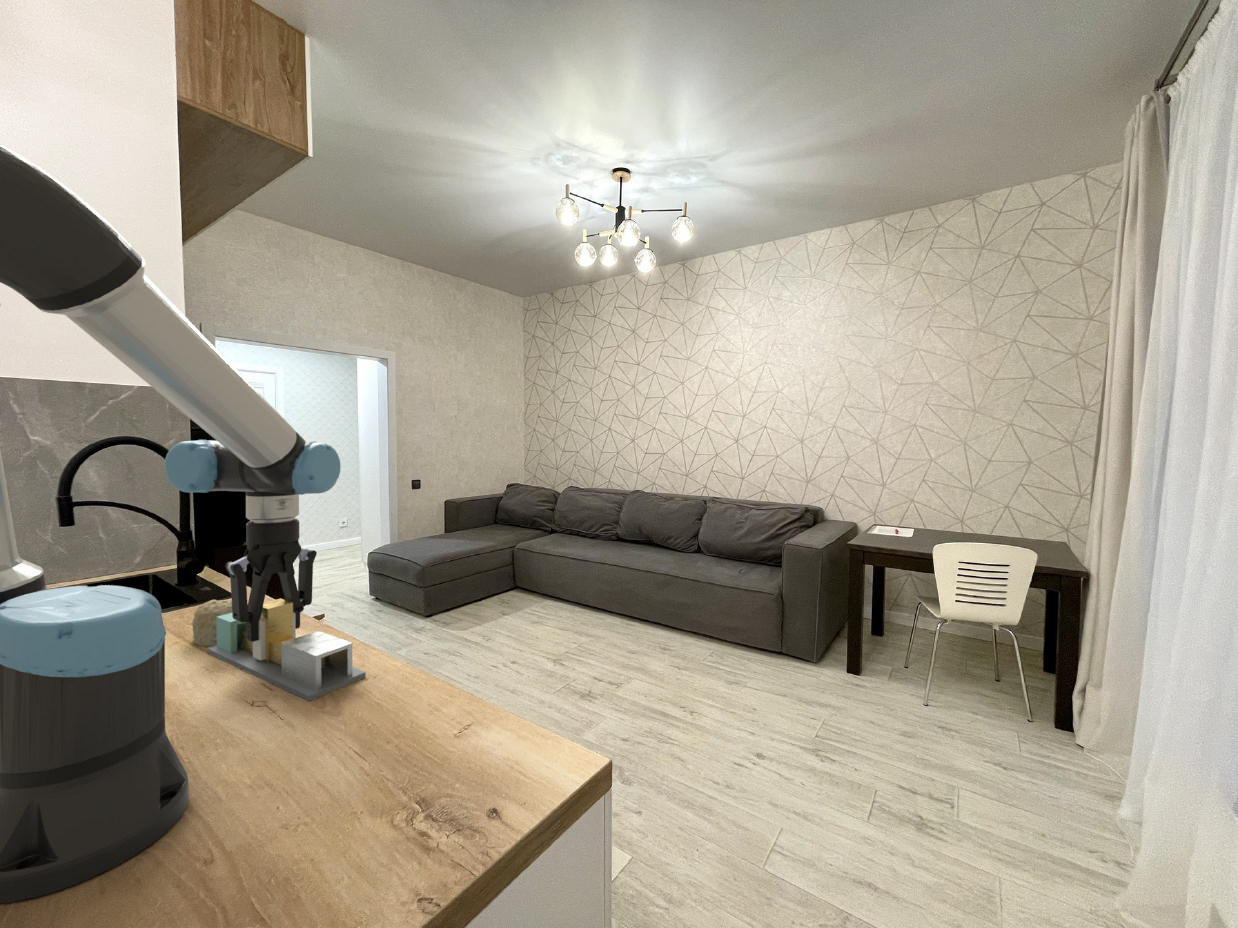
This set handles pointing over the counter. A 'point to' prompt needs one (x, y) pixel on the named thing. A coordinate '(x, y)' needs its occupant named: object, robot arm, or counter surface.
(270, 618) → the gold stepped block
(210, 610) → the sponge
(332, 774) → the counter surface
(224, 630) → the socket
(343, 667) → the grey rectangular sleeve
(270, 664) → the slate board
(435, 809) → the counter surface
